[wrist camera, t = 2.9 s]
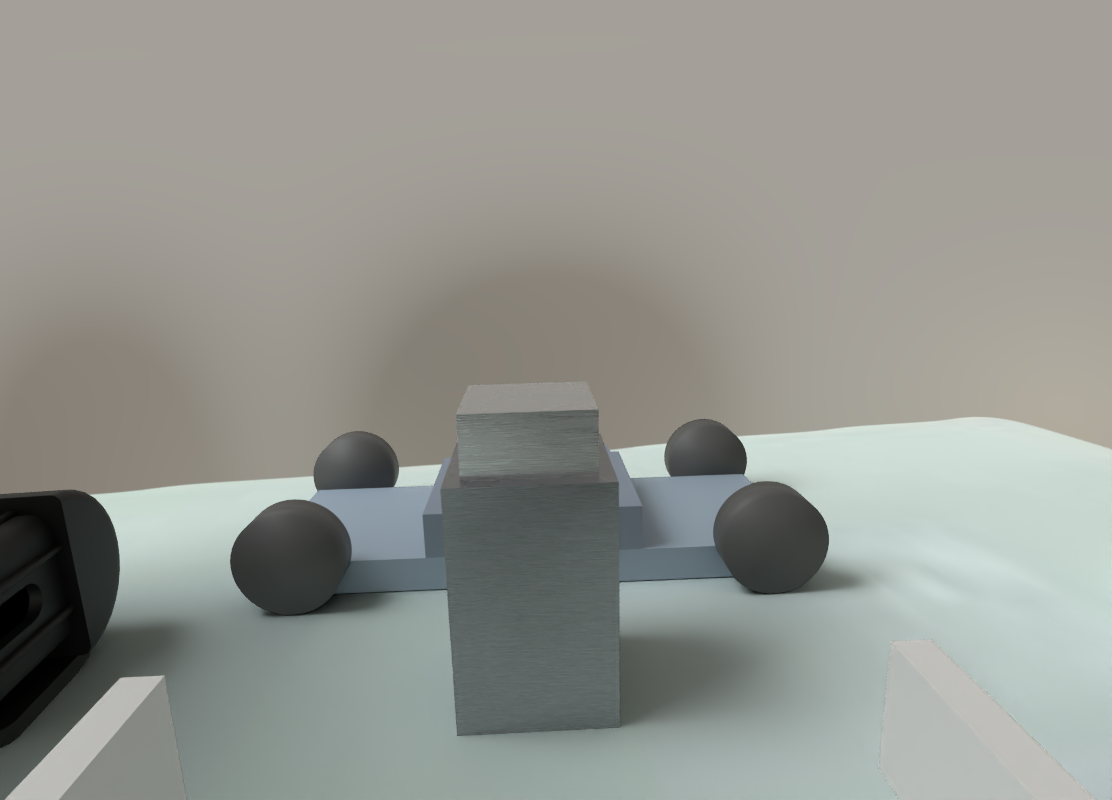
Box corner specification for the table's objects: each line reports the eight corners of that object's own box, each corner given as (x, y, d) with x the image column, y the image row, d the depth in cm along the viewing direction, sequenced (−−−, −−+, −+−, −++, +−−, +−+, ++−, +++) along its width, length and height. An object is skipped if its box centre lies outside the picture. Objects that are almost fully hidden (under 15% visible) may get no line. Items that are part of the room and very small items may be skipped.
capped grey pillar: (456, 735, 20) (435, 419, 18) (470, 641, 25) (454, 383, 23) (619, 727, 20) (618, 413, 18) (602, 635, 25) (599, 378, 23)
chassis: (237, 617, 27) (223, 516, 26) (326, 504, 39) (318, 432, 38) (825, 591, 28) (832, 492, 27) (736, 488, 40) (739, 417, 39)
